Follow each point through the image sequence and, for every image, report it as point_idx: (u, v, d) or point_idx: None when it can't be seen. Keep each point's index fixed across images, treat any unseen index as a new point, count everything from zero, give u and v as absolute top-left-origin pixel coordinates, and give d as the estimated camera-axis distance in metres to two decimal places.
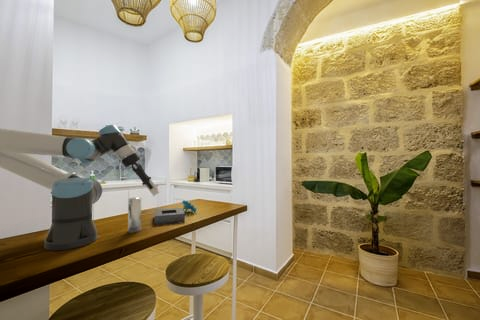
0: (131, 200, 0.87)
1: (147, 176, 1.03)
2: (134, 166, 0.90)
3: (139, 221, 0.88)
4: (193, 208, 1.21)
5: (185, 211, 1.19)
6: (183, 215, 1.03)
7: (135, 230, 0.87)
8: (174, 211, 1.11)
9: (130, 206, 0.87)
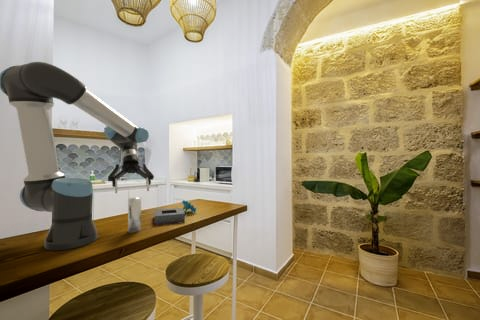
0: (131, 200, 0.87)
1: (118, 178, 1.01)
2: None
3: (139, 221, 0.88)
4: (193, 208, 1.20)
5: (185, 211, 1.19)
6: (183, 215, 1.03)
7: (135, 230, 0.87)
8: (174, 211, 1.11)
9: (130, 206, 0.87)
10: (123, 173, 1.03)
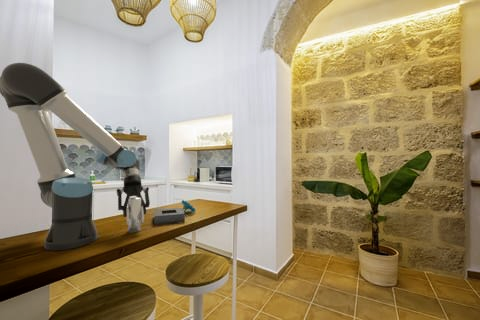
0: (131, 200, 0.87)
1: None
2: None
3: (139, 221, 0.88)
4: (192, 208, 1.20)
5: (184, 211, 1.19)
6: (183, 215, 1.03)
7: (135, 230, 0.87)
8: (174, 211, 1.11)
9: (130, 206, 0.87)
10: (129, 197, 0.92)
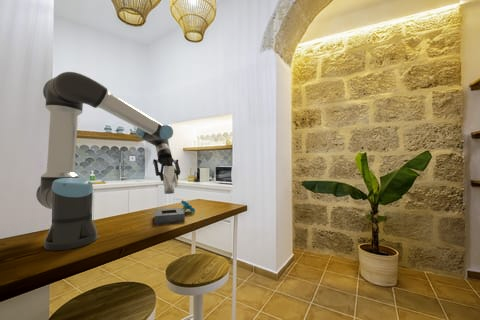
0: (167, 167, 1.04)
1: None
2: (177, 162, 1.17)
3: (173, 185, 1.06)
4: (191, 208, 1.20)
5: (183, 211, 1.19)
6: (183, 215, 1.03)
7: (170, 192, 1.05)
8: (174, 211, 1.11)
9: (166, 172, 1.04)
10: (163, 166, 1.10)
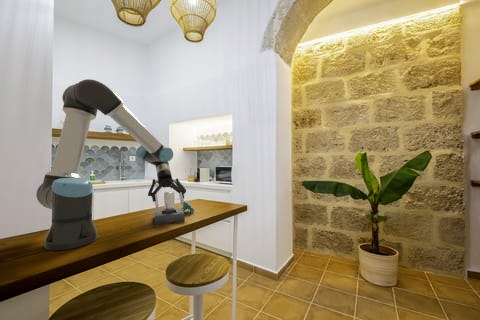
0: (167, 194, 1.04)
1: (156, 193, 1.07)
2: None
3: (173, 211, 1.06)
4: (190, 208, 1.20)
5: None
6: (183, 215, 1.03)
7: None
8: (174, 211, 1.11)
9: (166, 199, 1.04)
10: (160, 188, 1.10)
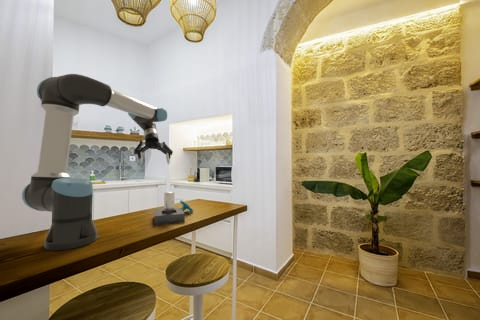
0: (167, 194, 1.04)
1: (142, 152, 1.13)
2: None
3: (173, 211, 1.06)
4: (189, 208, 1.19)
5: None
6: (183, 215, 1.03)
7: None
8: (174, 211, 1.11)
9: (166, 199, 1.04)
10: (146, 148, 1.15)
